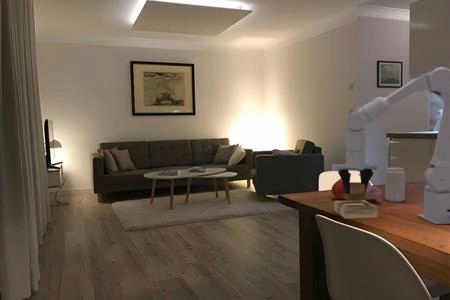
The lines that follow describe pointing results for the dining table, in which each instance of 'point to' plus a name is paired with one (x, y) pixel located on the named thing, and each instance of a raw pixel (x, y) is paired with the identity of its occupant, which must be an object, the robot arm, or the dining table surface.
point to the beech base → (355, 209)
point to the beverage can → (395, 184)
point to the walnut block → (356, 192)
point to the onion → (338, 189)
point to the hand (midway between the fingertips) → (355, 193)
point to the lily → (373, 191)
